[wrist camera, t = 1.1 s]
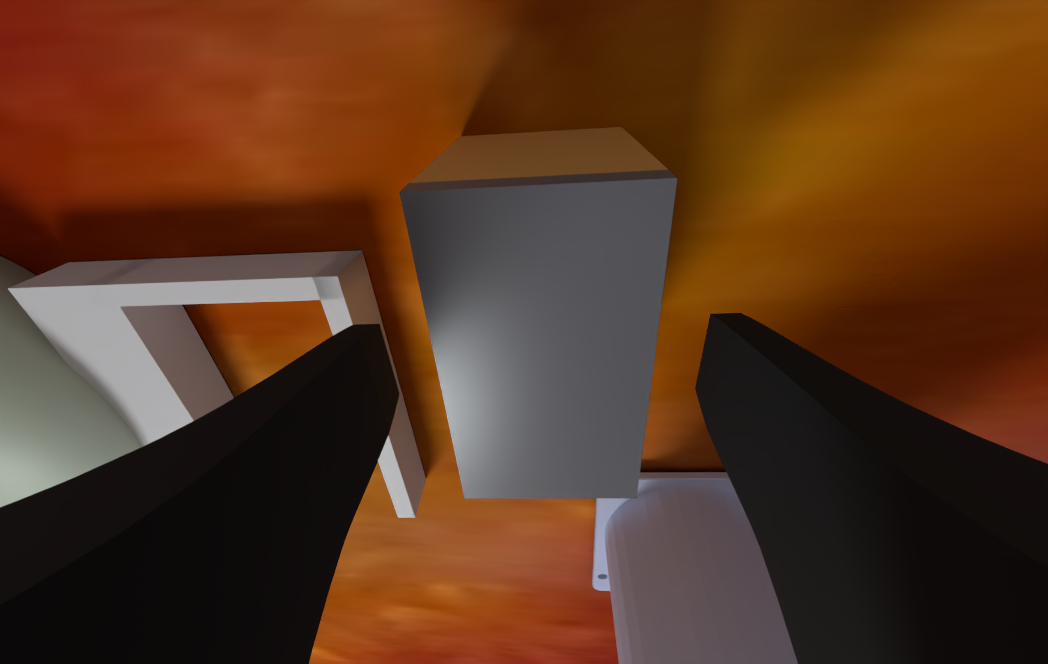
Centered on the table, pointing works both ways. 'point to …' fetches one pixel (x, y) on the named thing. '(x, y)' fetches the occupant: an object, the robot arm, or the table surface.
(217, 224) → the table surface
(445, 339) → the rectangular flat-faced block
